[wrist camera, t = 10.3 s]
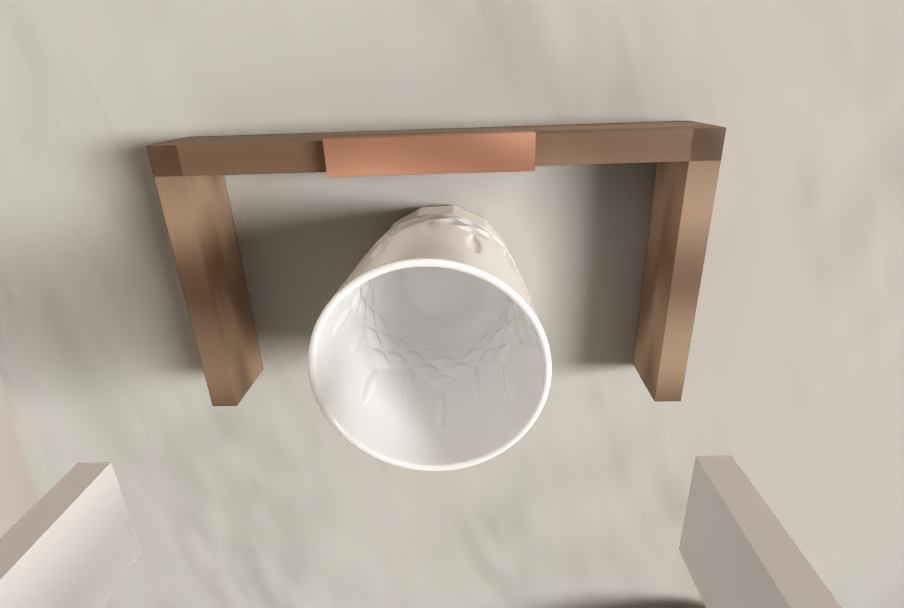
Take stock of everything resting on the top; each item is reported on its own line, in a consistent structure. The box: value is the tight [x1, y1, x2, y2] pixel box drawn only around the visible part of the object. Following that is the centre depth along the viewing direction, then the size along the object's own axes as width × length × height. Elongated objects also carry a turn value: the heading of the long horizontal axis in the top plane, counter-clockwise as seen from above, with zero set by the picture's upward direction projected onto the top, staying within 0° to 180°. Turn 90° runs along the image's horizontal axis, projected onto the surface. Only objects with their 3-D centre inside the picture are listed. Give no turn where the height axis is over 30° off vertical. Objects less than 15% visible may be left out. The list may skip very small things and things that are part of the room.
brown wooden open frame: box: [146, 121, 726, 406], centre depth 24 cm, size 12×22×4 cm, turn 92°
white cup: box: [308, 205, 552, 471], centre depth 21 cm, size 8×8×10 cm
